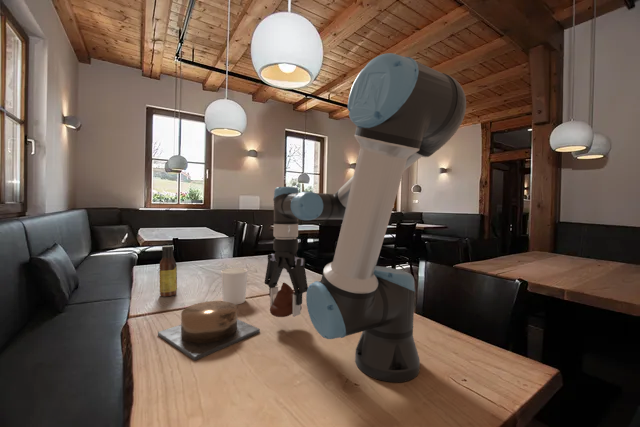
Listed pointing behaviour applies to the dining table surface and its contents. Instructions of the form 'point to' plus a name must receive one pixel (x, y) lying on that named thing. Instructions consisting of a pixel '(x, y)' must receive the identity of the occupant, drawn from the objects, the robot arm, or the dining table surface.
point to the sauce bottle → (168, 273)
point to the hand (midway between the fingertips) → (285, 311)
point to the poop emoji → (283, 302)
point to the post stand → (207, 329)
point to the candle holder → (234, 285)
